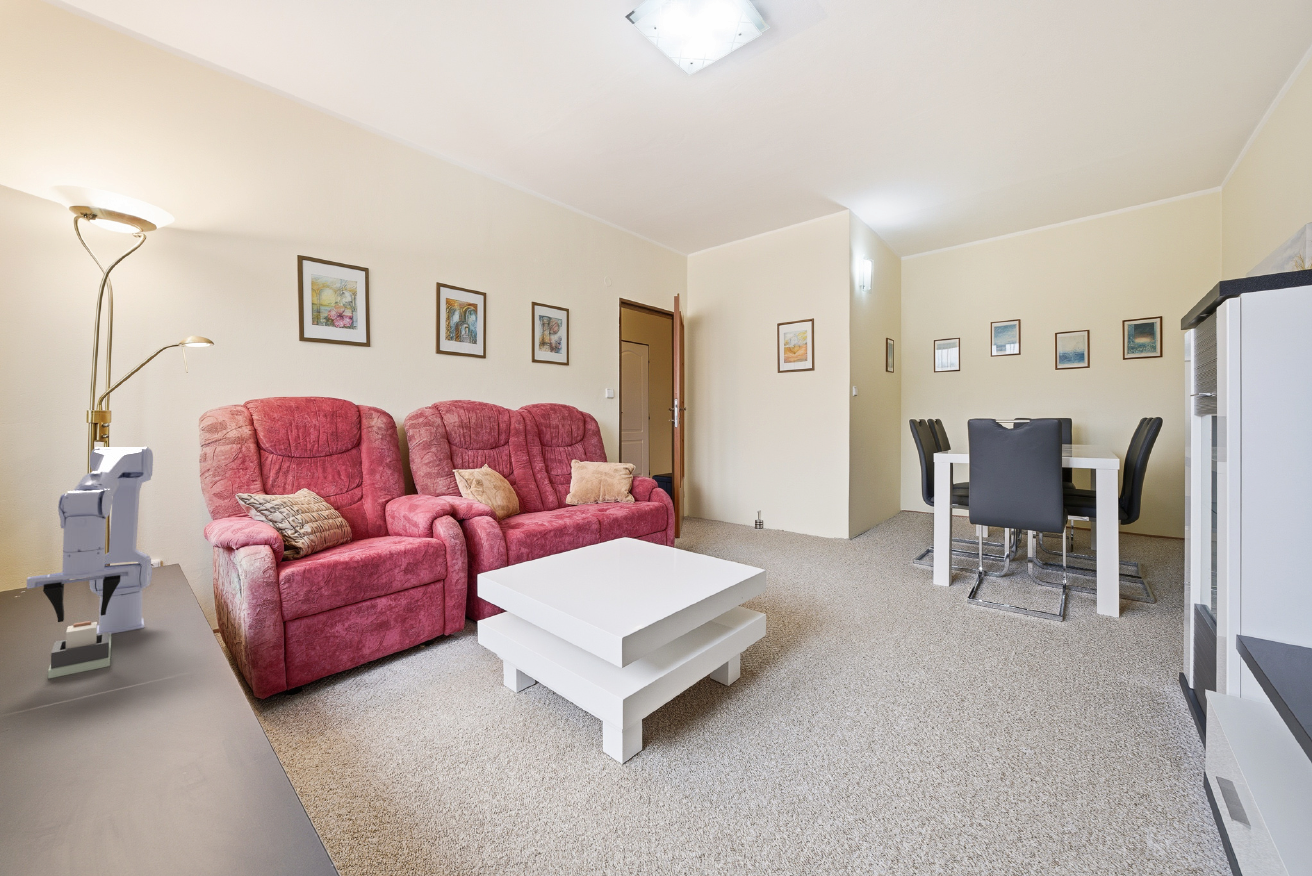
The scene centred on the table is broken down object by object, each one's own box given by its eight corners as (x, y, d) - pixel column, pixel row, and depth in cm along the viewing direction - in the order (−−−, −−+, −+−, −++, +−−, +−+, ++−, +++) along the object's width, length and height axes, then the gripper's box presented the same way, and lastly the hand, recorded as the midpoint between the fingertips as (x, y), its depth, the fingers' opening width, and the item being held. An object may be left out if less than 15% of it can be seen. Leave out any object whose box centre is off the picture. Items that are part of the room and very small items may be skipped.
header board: (57, 650, 111) (57, 629, 111) (111, 640, 117) (111, 620, 117) (48, 678, 97) (48, 654, 97) (109, 665, 103) (110, 643, 103)
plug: (67, 656, 104) (68, 623, 104) (96, 650, 107) (97, 619, 107) (65, 663, 101) (66, 629, 101) (95, 657, 103) (96, 624, 104)
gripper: (25, 557, 96) (23, 631, 96) (135, 547, 107) (134, 613, 106) (30, 552, 101) (27, 622, 101) (135, 543, 112) (133, 606, 111)
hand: (82, 617), depth 104 cm, fingers open, 5 cm apart
